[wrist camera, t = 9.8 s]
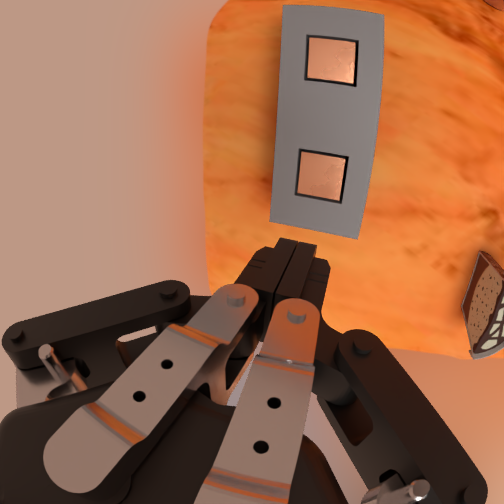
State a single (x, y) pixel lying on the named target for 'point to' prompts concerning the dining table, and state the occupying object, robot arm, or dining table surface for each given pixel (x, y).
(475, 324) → the half cake
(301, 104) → the guide block
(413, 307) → the dining table surface
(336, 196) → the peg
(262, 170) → the dining table surface
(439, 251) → the dining table surface
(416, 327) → the dining table surface
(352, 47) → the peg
